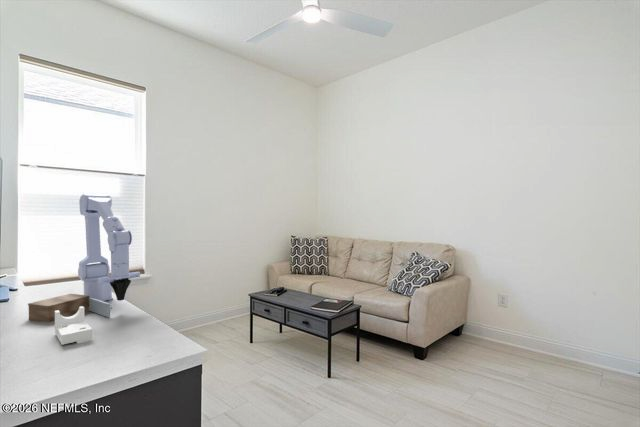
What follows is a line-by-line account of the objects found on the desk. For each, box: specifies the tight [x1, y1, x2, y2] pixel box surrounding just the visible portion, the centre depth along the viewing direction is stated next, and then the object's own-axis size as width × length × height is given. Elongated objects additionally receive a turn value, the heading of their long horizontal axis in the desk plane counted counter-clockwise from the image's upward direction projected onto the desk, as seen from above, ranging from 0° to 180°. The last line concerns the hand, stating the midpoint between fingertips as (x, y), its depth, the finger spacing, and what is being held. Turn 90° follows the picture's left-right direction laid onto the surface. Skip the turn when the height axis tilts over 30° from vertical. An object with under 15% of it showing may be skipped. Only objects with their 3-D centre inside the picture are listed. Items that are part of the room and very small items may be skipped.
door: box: [89, 298, 113, 318], centre depth 124 cm, size 14×2×5 cm, turn 56°
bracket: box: [54, 306, 93, 345], centre depth 102 cm, size 13×7×8 cm, turn 44°
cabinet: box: [27, 293, 90, 324], centre depth 123 cm, size 14×10×6 cm
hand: (120, 300), depth 126 cm, fingers closed
